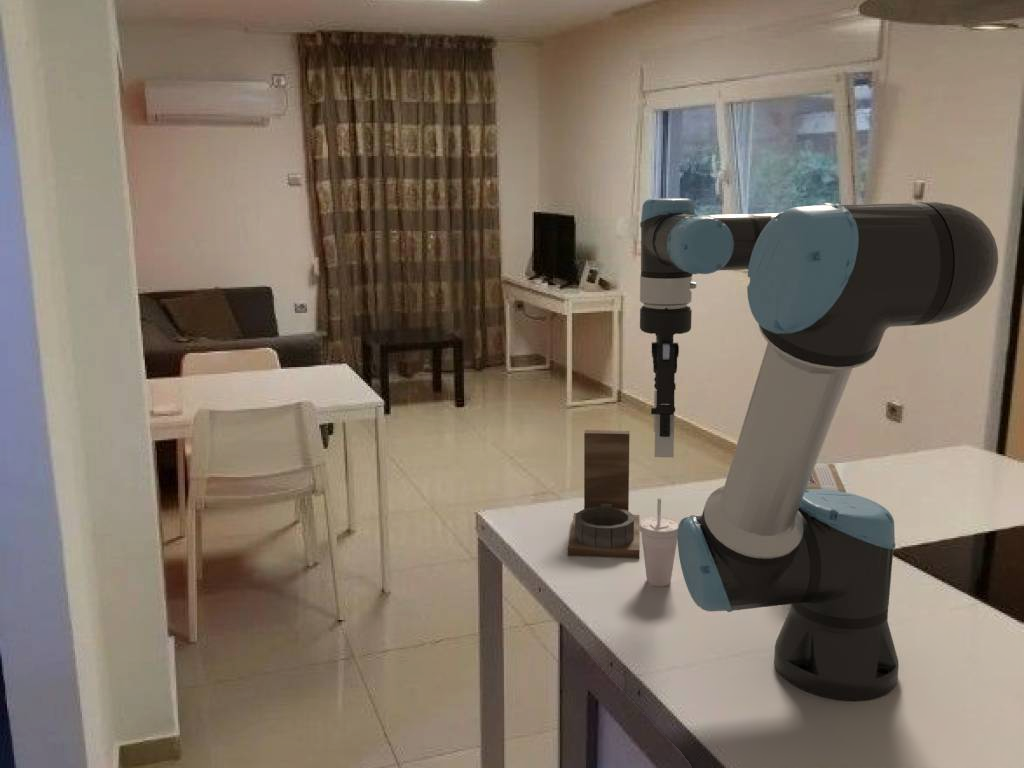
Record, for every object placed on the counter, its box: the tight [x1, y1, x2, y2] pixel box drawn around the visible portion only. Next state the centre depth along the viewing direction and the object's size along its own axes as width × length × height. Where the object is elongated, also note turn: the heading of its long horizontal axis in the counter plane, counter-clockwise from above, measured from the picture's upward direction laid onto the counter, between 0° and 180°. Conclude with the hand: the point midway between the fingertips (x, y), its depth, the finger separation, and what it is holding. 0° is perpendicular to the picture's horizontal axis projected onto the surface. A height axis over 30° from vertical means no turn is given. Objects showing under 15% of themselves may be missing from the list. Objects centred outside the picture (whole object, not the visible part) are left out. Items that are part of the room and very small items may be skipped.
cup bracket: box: [567, 429, 641, 559], centre depth 161 cm, size 16×12×18 cm
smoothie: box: [639, 497, 680, 588], centre depth 144 cm, size 6×6×14 cm
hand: (663, 443), depth 141 cm, fingers open, 13 cm apart
